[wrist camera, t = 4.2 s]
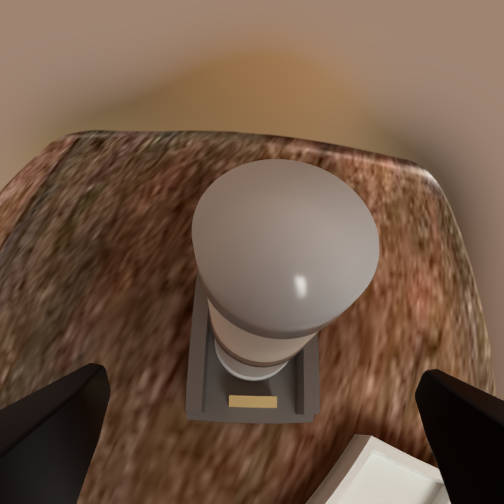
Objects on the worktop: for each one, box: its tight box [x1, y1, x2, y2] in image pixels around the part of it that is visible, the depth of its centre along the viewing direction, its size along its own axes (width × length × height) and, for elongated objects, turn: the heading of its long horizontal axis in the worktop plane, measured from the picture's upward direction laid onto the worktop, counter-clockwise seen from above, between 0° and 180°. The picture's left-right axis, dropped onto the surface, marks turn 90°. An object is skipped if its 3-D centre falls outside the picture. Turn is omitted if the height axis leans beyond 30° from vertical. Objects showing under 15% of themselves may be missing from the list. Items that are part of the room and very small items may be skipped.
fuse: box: [192, 159, 379, 382], centre depth 12 cm, size 4×4×12 cm
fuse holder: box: [185, 269, 320, 423], centre depth 17 cm, size 9×7×3 cm
